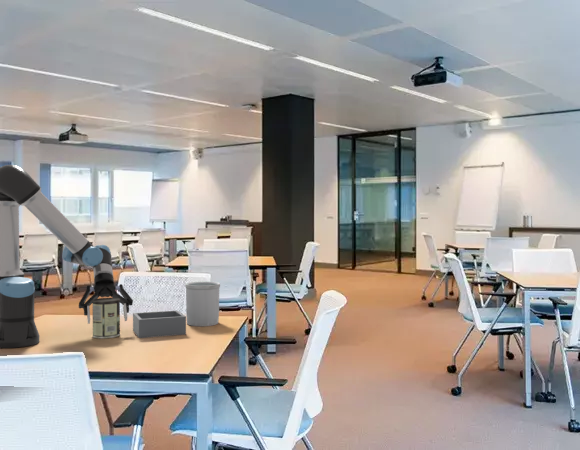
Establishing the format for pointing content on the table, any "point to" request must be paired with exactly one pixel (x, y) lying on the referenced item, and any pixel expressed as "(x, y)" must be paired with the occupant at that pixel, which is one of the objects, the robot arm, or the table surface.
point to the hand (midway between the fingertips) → (107, 320)
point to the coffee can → (106, 317)
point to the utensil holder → (202, 303)
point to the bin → (159, 324)
